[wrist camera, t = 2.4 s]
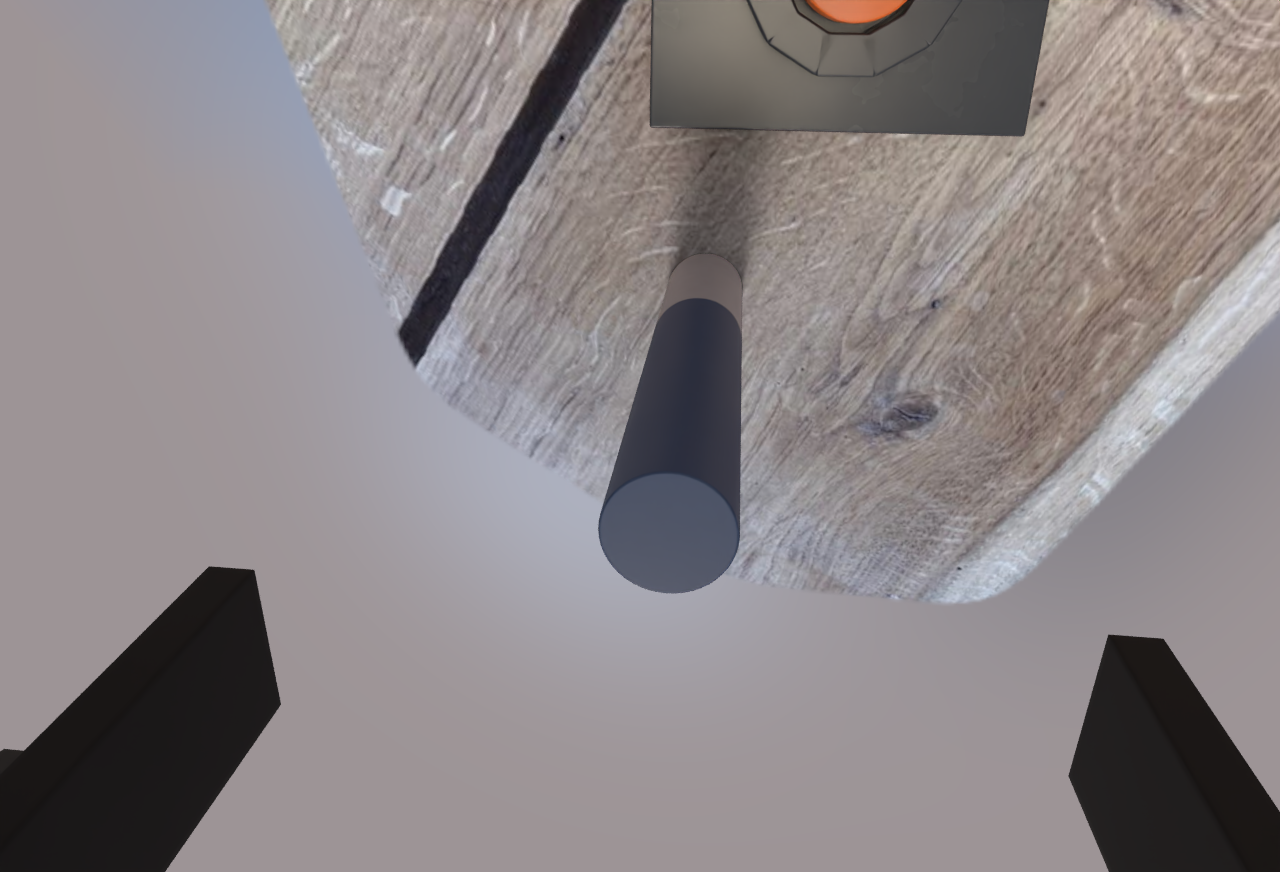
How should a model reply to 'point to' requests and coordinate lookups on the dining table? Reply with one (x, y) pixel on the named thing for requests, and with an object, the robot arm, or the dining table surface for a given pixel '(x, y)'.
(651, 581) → the pen
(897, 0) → the button
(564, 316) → the dining table surface
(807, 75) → the station
